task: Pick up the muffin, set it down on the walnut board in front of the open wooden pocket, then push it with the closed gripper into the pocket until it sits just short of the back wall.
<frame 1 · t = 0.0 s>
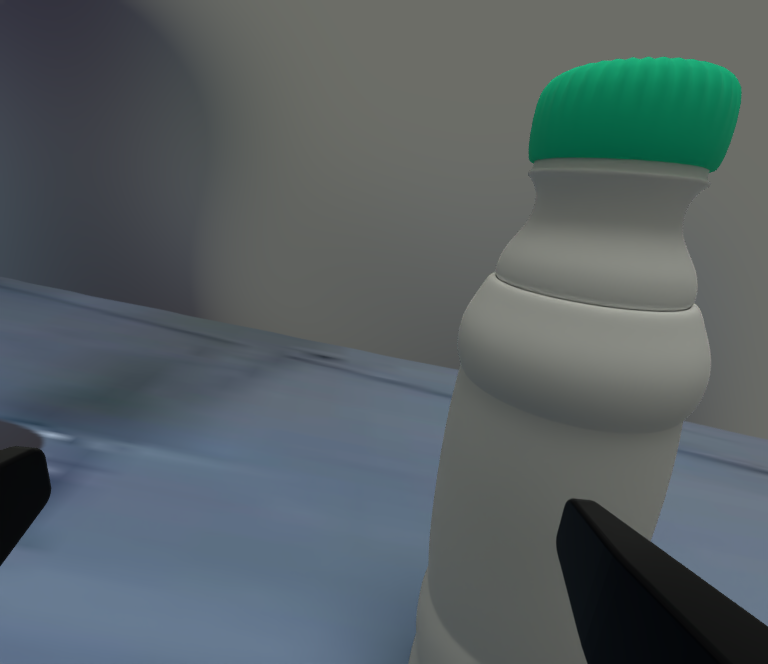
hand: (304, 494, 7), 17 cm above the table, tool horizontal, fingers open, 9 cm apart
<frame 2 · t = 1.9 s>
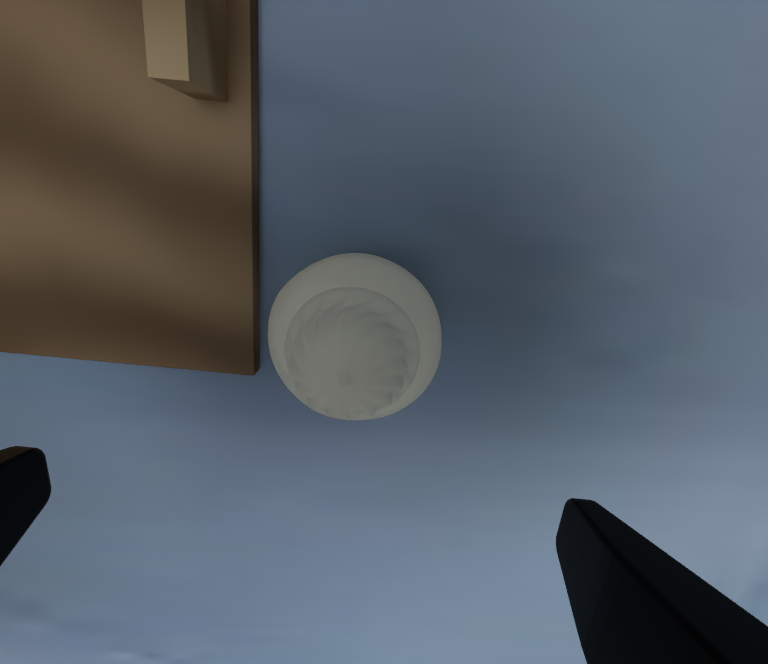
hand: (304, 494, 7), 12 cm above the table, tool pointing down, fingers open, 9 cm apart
channel bracket: (82, 165, 17), on the table
muffin: (363, 312, 18), on the table
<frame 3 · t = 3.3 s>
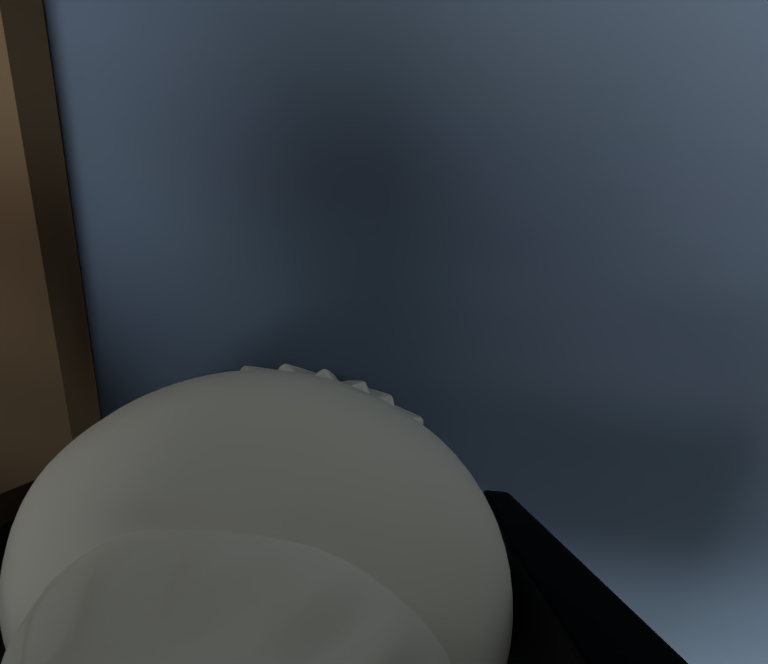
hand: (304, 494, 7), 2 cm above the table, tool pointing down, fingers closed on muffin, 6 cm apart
muffin: (320, 438, 9), on the table, touching gripper
when the fingers open (3 cm above the table, at t = 7.0 s): muffin stays where it is, resting on channel bracket.
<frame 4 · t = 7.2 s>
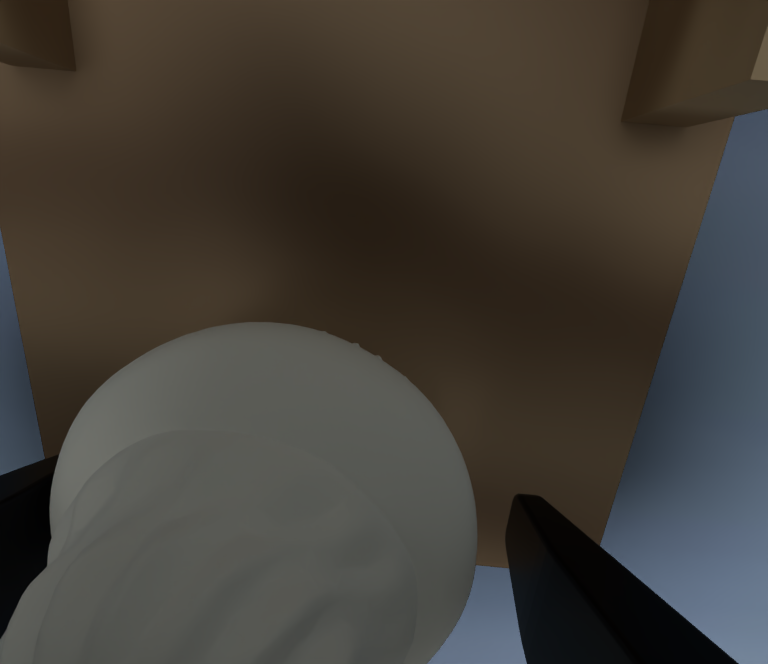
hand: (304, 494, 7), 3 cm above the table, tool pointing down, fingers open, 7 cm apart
channel bracket: (344, 236, 9), on the table
muffin: (325, 412, 10), point 1 cm above the table, touching channel bracket
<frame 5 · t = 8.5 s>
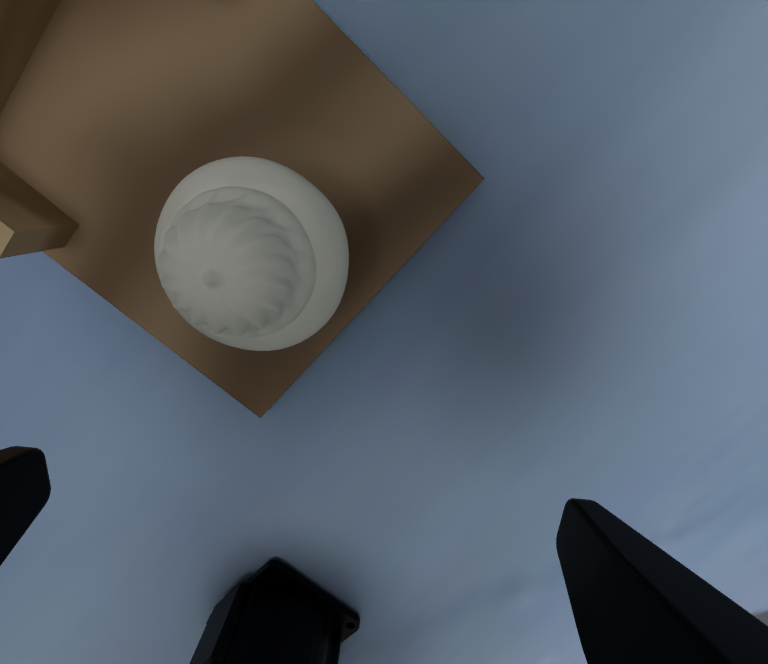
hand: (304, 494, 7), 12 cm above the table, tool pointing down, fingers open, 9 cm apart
channel bracket: (212, 173, 17), on the table
muffin: (284, 246, 17), point 1 cm above the table, touching channel bracket
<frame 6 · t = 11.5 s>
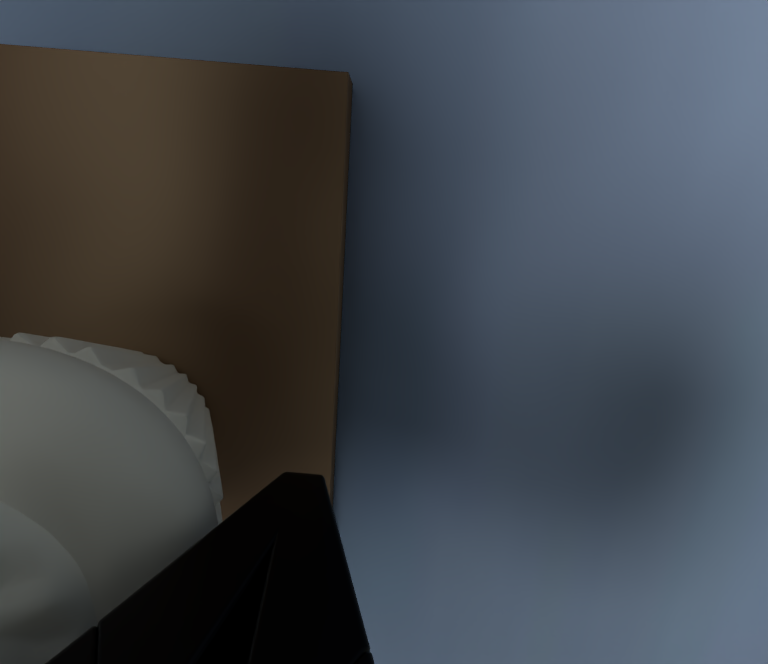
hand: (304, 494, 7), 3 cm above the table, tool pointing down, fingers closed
channel bracket: (7, 384, 10), on the table
muffin: (145, 413, 10), point 1 cm above the table, touching gripper
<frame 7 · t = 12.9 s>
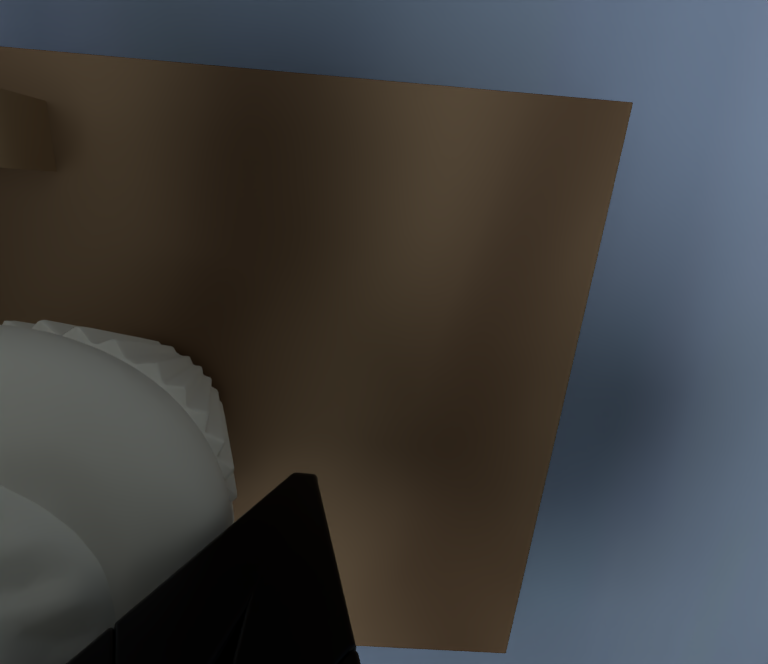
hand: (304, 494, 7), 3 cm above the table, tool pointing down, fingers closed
channel bracket: (221, 399, 10), on the table
muffin: (157, 401, 10), point 1 cm above the table, touching channel bracket, gripper
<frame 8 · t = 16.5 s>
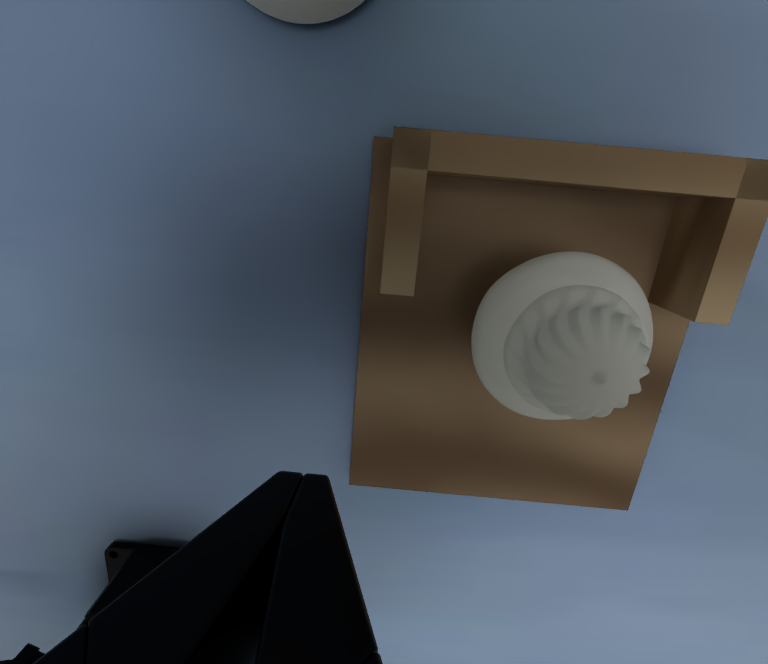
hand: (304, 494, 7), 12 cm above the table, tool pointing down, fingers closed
channel bracket: (513, 342, 19), on the table
muffin: (528, 311, 18), point 1 cm above the table, touching channel bracket
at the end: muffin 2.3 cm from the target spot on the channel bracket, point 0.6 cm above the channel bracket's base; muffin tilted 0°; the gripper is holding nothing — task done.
